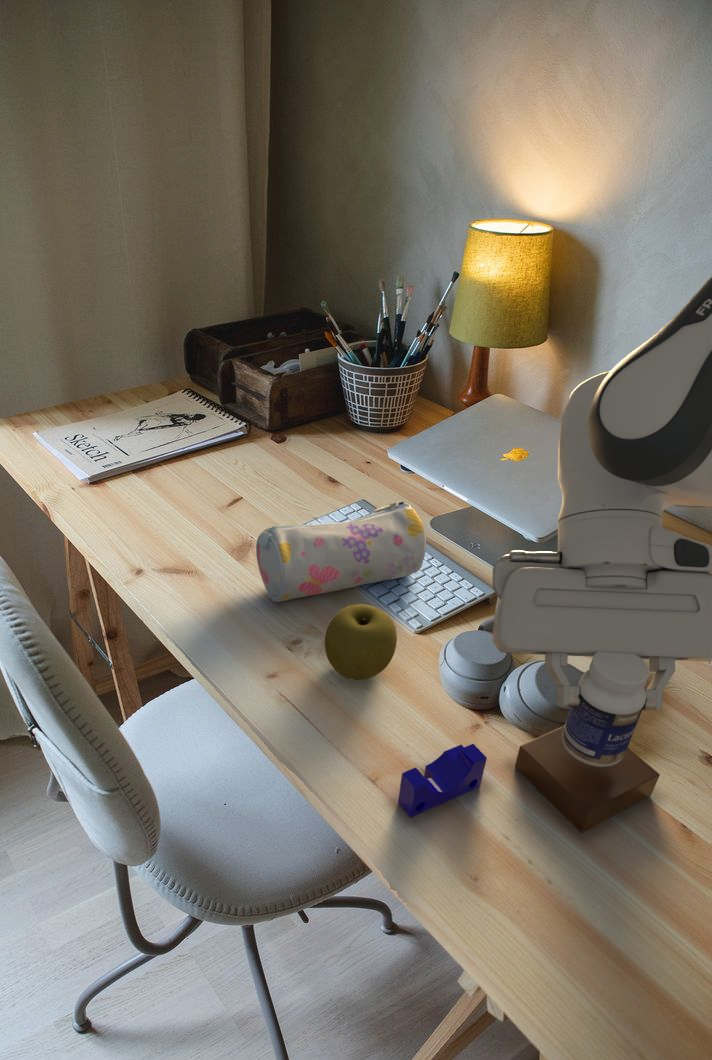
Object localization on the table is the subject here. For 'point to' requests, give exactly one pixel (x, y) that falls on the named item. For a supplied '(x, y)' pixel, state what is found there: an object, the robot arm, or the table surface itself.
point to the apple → (360, 641)
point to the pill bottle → (606, 709)
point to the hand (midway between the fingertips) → (609, 708)
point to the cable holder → (442, 779)
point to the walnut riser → (584, 780)
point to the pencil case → (341, 553)
